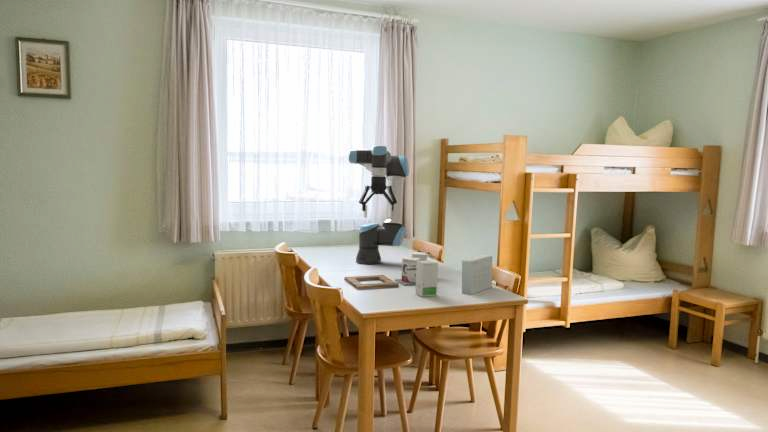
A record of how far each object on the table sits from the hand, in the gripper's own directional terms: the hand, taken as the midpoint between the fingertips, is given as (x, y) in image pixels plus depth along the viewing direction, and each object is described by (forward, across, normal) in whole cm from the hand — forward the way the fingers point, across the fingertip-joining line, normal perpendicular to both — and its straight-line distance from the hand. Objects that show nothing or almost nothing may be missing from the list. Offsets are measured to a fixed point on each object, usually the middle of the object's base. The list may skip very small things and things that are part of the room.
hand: (377, 217), depth 278 cm
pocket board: (+31, -7, -12) cm, 34 cm away
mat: (+31, +13, -15) cm, 37 cm away
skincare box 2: (+32, +37, -38) cm, 62 cm away
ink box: (+31, +13, -15) cm, 37 cm away
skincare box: (+32, +9, -40) cm, 52 cm away
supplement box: (+32, +23, -4) cm, 39 cm away
